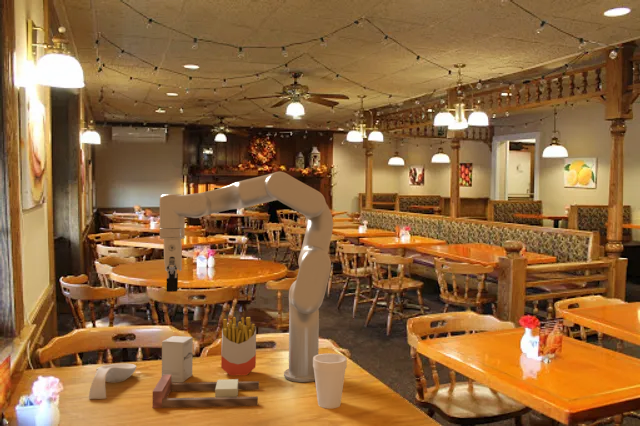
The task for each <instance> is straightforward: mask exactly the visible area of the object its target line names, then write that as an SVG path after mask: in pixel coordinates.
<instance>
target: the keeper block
mask: <svg viewBox="0 0 640 426" xmlns="http://www.w3.org/2000/svg"><path fill="white" fill-rule="evenodd" d="M216 382H217V384H216V388H215V390H214V397H239V396H238V394H239V390H238V382H239V378H235V379H232V378H231V379H217V380H216Z"/></svg>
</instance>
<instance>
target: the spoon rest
mask: <svg viewBox="0 0 640 426" xmlns="http://www.w3.org/2000/svg"><path fill="white" fill-rule="evenodd" d="M95 370H96V372H95V375H94V376H93V379H92V382H91V386H90V388H89V389H90V390H89V394H88V399H90V400H104V399H107V390H106V382H107V383H113V384H114V383H120V382H121V383H122V382H124V381H126V380H127V379H128V378H130V377H131V376H133V374H134V373H135V372H136V370H137V365H136V364H133V363H113V364H112V363H111V364H104V365H100V366H98V367H97V368H96V369H95Z"/></svg>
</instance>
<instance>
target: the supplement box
mask: <svg viewBox="0 0 640 426" xmlns="http://www.w3.org/2000/svg"><path fill="white" fill-rule="evenodd" d="M193 343H194V341H193V336H178V335H174V336H173V335H172V336H169V337H168V338H166V339H164V340H162V341H161V376H162V375H171V383H185V382H186V380H188V379H189V378H190V377H192V376H193V356H194V355H193V351H194V349H193V347H194V346H193Z"/></svg>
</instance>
